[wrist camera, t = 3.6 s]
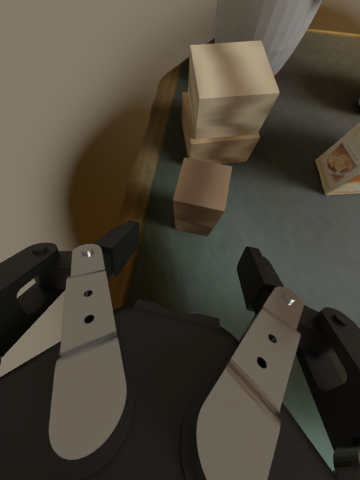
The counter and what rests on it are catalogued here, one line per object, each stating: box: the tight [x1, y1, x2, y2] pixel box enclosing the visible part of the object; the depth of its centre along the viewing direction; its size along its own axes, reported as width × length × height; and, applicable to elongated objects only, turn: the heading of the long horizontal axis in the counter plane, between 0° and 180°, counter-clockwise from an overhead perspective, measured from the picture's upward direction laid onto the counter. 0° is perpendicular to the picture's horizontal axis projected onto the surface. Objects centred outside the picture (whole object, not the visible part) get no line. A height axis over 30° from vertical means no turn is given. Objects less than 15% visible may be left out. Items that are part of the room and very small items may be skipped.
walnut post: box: [173, 158, 232, 236], centre depth 19 cm, size 5×5×9 cm
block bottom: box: [182, 92, 260, 164], centre depth 25 cm, size 10×10×5 cm
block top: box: [188, 40, 280, 139], centre depth 20 cm, size 9×9×5 cm
